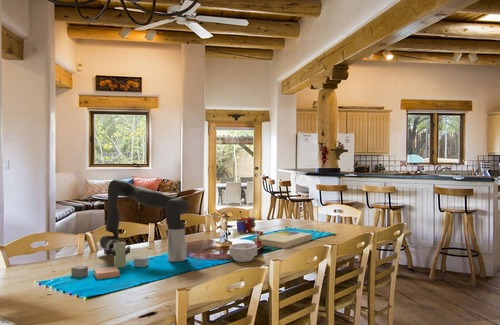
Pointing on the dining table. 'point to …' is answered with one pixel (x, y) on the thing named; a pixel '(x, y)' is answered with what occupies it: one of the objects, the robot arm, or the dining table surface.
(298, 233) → the puzzle box
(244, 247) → the paper bowls
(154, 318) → the dining table surface
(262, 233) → the toy fire truck
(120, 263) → the sage tower brick
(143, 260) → the light gray block
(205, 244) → the dining table surface
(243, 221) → the robot toy
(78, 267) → the grey rectangular block
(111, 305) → the dining table surface
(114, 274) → the terracotta base brick
